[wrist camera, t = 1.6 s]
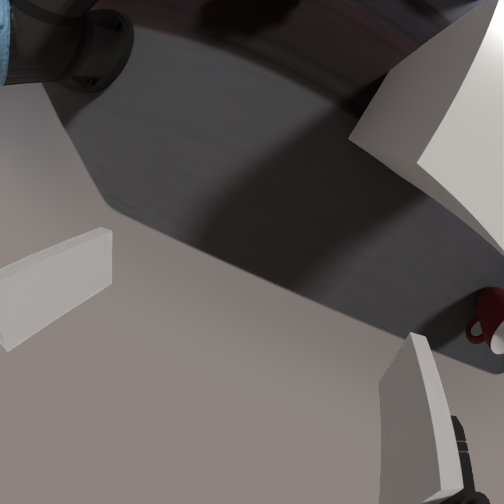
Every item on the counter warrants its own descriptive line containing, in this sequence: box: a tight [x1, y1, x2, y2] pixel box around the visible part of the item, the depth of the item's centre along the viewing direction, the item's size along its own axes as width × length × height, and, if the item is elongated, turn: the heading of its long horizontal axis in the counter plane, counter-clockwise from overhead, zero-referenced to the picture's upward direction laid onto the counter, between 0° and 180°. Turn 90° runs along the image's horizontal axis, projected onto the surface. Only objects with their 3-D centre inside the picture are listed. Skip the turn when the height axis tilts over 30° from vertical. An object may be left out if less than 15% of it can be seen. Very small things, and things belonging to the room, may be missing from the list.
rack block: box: [348, 0, 504, 256], centre depth 18 cm, size 8×11×26 cm
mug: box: [465, 287, 504, 354], centre depth 31 cm, size 11×8×10 cm
